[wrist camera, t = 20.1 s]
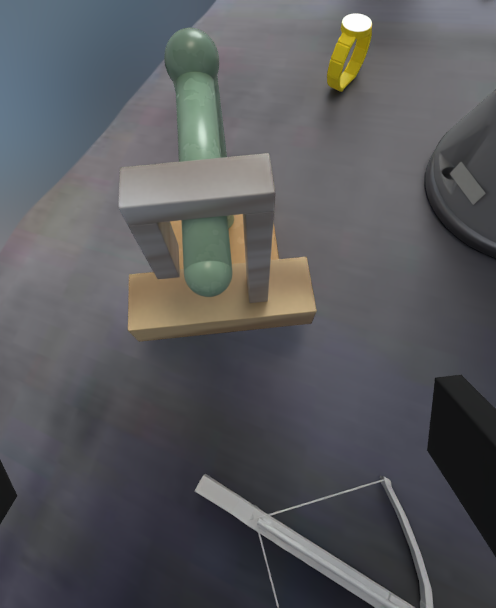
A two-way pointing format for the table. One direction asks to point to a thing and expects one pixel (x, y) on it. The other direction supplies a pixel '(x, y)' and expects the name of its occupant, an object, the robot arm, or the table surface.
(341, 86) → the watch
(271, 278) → the grey arch on wood
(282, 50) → the table surface
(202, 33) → the hanger stand
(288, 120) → the table surface
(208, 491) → the crossbow
